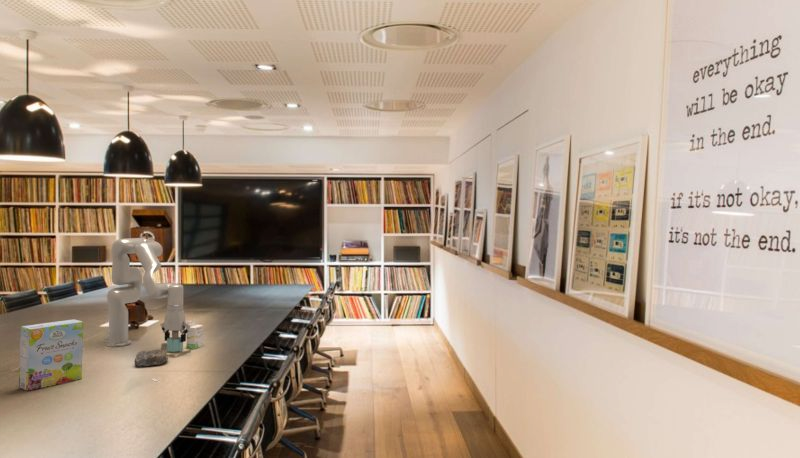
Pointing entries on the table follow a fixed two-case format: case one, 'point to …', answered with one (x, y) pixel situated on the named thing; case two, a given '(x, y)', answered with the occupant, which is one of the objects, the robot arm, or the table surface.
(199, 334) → the ink box
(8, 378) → the table surface
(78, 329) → the snack box
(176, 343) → the ring
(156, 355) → the rock
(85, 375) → the table surface
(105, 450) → the table surface
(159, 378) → the paper
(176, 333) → the board
